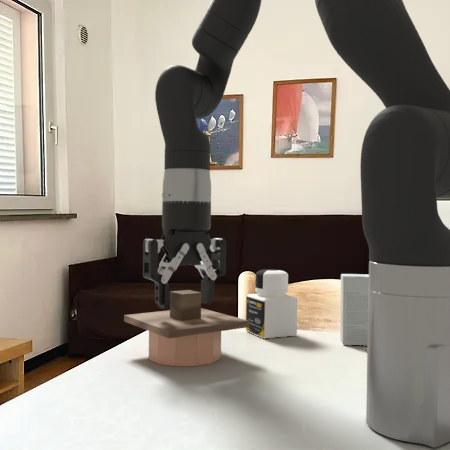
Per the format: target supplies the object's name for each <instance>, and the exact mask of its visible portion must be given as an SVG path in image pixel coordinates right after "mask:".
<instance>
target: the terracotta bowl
mask: <svg viewBox="0 0 450 450" xmlns="http://www.w3.org/2000/svg"><path fill="white" fill-rule="evenodd" d="M221 359H222V331H218V332H211V333H204V334H197V335H190V336H183V337H175V338H166V337H164V336H161V335H158V334H156V333H153V332H150V331H148V361H149V360H150V361H151V362H153V363H156V364H159V365H164V366H172V367H198V366H204V365H209V364H210V365H211V364H214V363H215V362H217V361H219V360H221Z"/></svg>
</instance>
